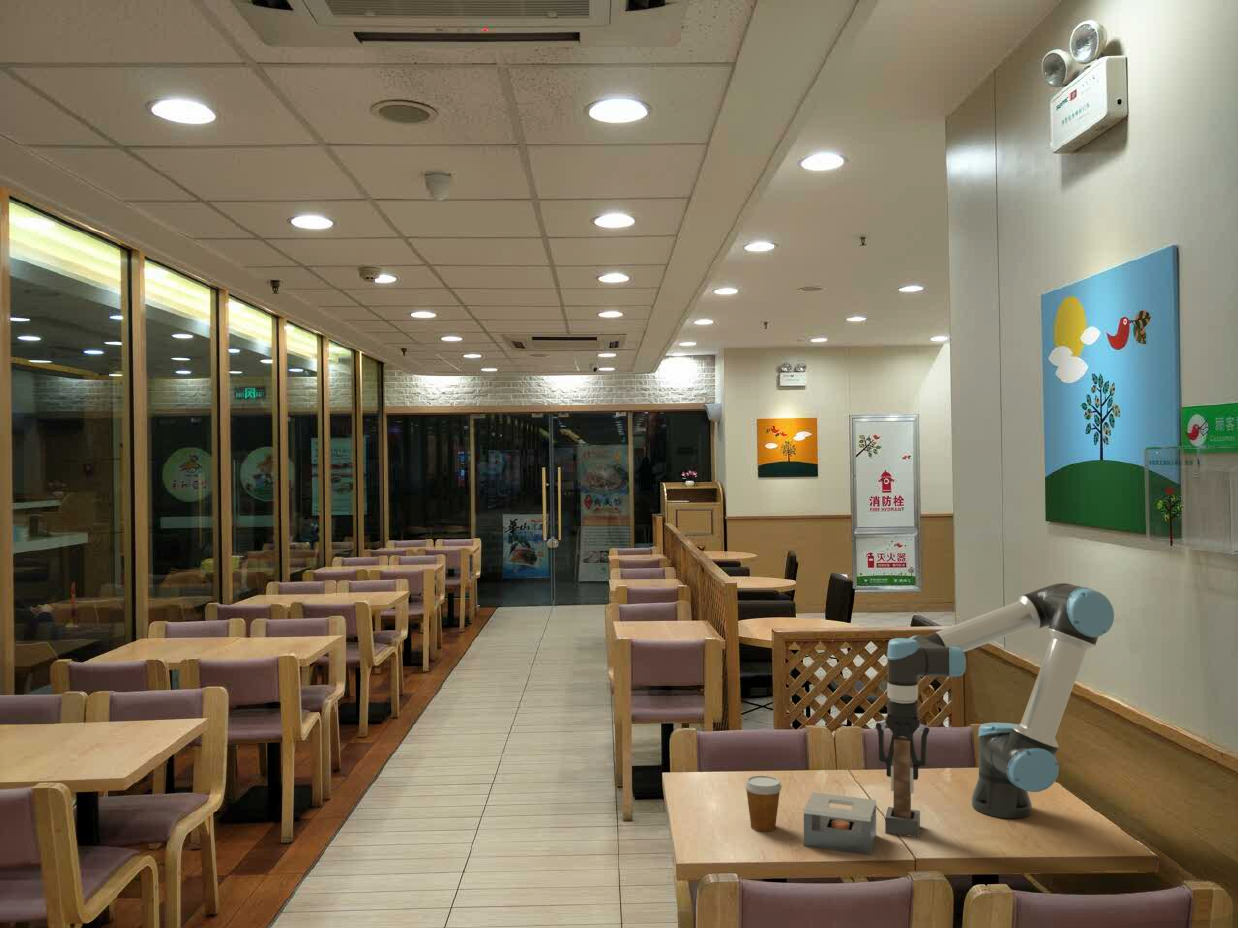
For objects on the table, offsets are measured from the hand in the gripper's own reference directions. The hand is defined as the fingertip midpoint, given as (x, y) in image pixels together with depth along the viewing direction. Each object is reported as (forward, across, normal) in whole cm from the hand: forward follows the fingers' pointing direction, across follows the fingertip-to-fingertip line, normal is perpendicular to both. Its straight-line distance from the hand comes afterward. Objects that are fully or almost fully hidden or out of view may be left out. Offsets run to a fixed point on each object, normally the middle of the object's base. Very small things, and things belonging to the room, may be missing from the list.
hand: (902, 790), depth 244 cm
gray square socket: (+10, 0, 0) cm, 10 cm away
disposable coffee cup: (+10, +34, +11) cm, 37 cm away
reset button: (+10, +14, +13) cm, 21 cm away
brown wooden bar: (+7, 0, 0) cm, 7 cm away
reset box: (+10, +14, +13) cm, 22 cm away
